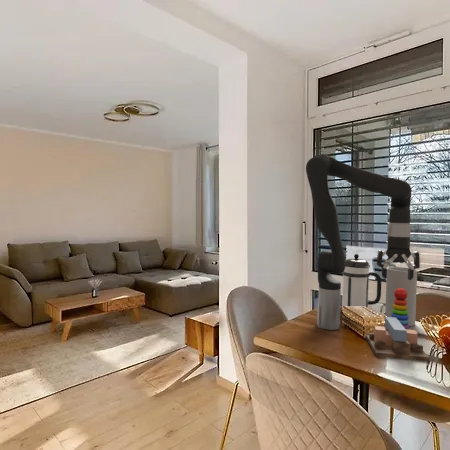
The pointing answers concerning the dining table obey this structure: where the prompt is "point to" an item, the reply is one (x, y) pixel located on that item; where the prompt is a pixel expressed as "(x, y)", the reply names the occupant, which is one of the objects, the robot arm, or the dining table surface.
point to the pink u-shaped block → (384, 336)
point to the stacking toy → (401, 307)
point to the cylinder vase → (399, 279)
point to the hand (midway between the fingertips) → (397, 278)
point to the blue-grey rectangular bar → (395, 329)
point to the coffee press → (358, 283)
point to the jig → (397, 349)
